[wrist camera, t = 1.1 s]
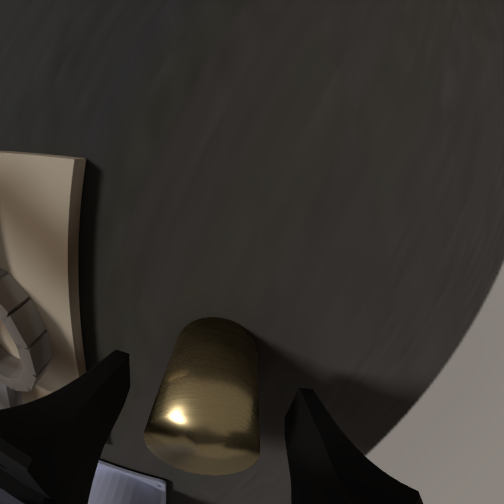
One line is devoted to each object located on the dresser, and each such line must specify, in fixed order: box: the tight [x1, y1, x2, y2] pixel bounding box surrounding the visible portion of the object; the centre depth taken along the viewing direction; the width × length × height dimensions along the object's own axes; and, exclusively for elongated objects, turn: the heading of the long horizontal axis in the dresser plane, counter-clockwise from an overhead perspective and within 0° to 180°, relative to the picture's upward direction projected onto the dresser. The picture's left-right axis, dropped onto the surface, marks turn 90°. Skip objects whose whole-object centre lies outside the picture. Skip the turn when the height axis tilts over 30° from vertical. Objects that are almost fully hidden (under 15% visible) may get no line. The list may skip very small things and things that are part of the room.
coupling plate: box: [0, 151, 86, 409], centre depth 12 cm, size 20×11×3 cm, turn 167°
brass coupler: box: [144, 317, 260, 475], centre depth 11 cm, size 4×4×6 cm
